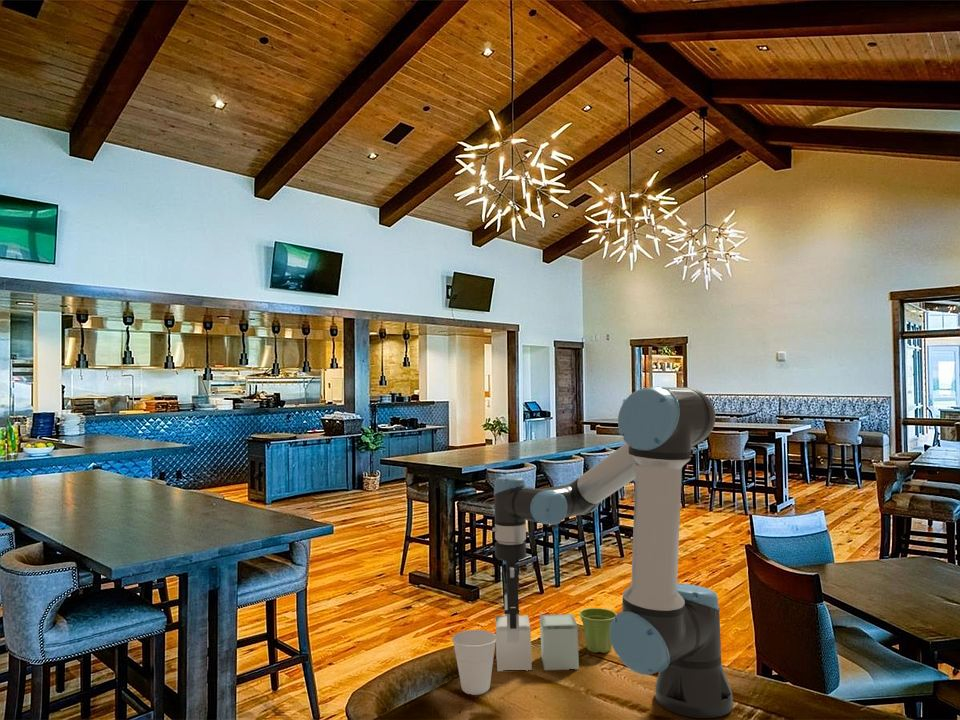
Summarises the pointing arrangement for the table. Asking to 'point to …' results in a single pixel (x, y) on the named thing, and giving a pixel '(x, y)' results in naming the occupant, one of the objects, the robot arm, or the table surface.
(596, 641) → the plant pot
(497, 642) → the white cover
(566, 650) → the sage cover
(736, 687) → the table surface
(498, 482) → the robot arm
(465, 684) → the cup
